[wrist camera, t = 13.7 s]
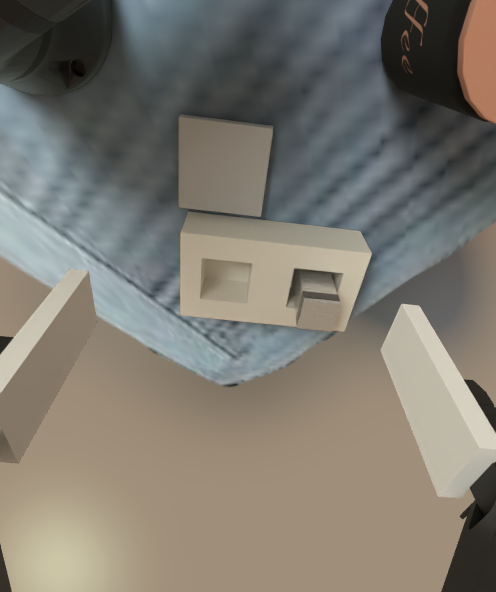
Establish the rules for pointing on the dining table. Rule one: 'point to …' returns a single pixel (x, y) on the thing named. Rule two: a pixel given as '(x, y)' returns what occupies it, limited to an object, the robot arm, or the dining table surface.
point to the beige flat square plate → (223, 164)
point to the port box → (263, 267)
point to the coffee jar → (444, 53)
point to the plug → (314, 299)
